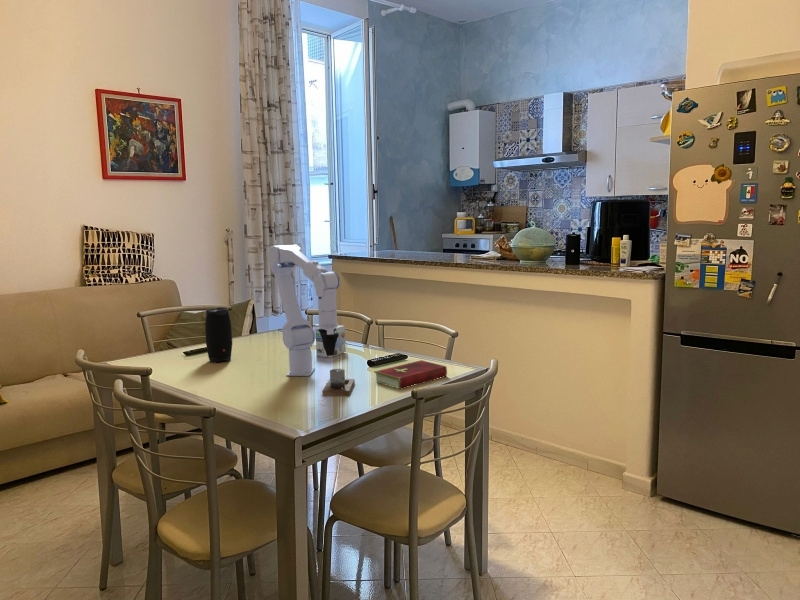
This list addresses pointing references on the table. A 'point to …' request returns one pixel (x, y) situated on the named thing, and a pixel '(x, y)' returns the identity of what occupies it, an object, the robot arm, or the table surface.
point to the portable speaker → (218, 334)
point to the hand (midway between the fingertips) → (328, 352)
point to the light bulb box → (339, 346)
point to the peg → (337, 378)
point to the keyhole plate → (339, 392)
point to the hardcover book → (410, 374)
